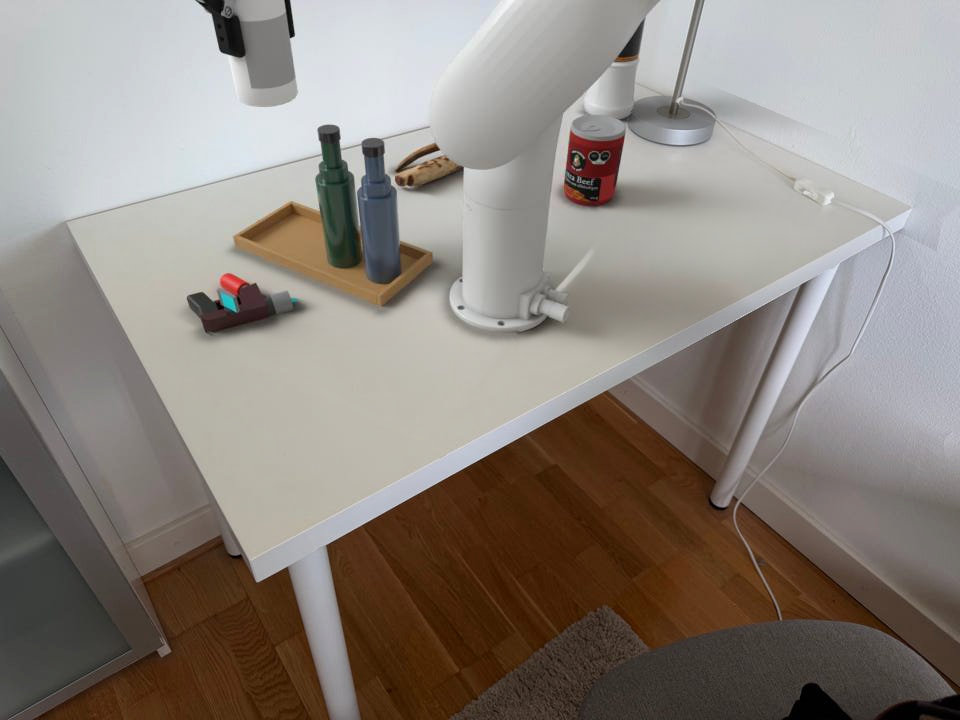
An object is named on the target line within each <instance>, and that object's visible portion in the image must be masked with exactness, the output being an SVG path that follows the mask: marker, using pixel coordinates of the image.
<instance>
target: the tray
mask: <svg viewBox="0 0 960 720" xmlns="http://www.w3.org/2000/svg"><path fill="white" fill-rule="evenodd" d="M359 228H360V237H361V246H362V256H363V258H362V261H361V262H360V263H359V264H358V265H356V266H354V267H350V268H336V267H333V266H331V265H330V264H329V263H328V261H327V256H326V249H325V242H324V236H323V229H322V222H321V215H320V210H318V209H314V208H312V207H309V206H306V205H304V204H301V203H298V202H296V201H292V200H290V201H288V202H287V203H285V204H284V205H282V206H280V207H278V208H277V209H275V210H274V211H272V212H270V213H269V214H267V215H265V216H264V217H262V218H260V219H259V220H257V221H256V222H254V223H252V224H251V225H248V226H247V227H246V228H244V229H243V230H240V231H239V232H238V233H236V234H234V235H233V236H232V239H233V243H234V246H235V248H238V249H240V250H243V251H246V252H248V253H250V254H253V255H255V256H258V257H261V258H262V259H264V260H267V261H270V262H272V263H274V264H277V265H280V266H282V267H284V268H287V269H289V270H292V271H294V272H296V273H299V274H301V275H304V276H306V277H308V278H311V279H313V280H316V281H318V282H320V283H323V284H325V285H328V286H330V287H332V288H335V289H338V290H339V291H343V292H345V293H347V294H350V295H352V296H355V297H357V298H359V299H362V300H364V301H366V302H369V303H371V304H373V305H376V306H379V307H383V306H384V305H385V304H386V303H388V302H389V301H390V300H391V299H392V298H394V297H395V296H396V295H397V294H398V293H399V292H400V291H402V290H403V289H404V288H405V287H406V286H408V285H409V284H410V283H411V282H412V281H413V280H414V279H415V278H417V277H418V276H419V275H420V274H421V273H422V272H424V271H425V270H426V269H427V268H429V266H430V265H432V264H433V263H434V258H433V252H432V251H429V250H428V249H425V248H421V247H420V246H419V247H418V246H416V245H413V244H410V243H408V242H405V241H402V240H400V251H401V267H402V274H401V275H400V276H398V277H397V278H396V279H395V280H394V281H392V282H391V283H388V284H377V283H373V282H371V281H369V280H368V279H367V277H366V274H365V264H364V255H363V245H362V236H361V226H360V225H359Z"/></svg>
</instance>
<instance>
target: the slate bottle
mask: <svg viewBox="0 0 960 720" xmlns="http://www.w3.org/2000/svg"><path fill="white" fill-rule="evenodd" d="M360 143H361V153H362V155H363V161H364V171H365V174H363V176H362V177H361V179H360V185H361V186H360V187H359V188H358V189H357V191H356V199H357V208H358V218H359V226H361V236H362V245H363V255H364V264H365V274H366V277H367V279H368V280H369V281H371V282H373V283H377V284H388V283H391V282H392V281H394V280H395V279H396V278H397V277H398V276H400V275H401V274H402V267H401V251H400V241H401V237H400V235H401V234H400V220H399V204H398V203H399V202H398V191H397V189H396V187H395V186H393V185H392V178H391V176H390V175H389V174H387V173H386V167H385V153H386V149H385V141H384V140H383V139H381V138H379V137H369V138H365V139H363V140H362V141H361V142H360Z"/></svg>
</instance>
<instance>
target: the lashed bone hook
mask: <svg viewBox="0 0 960 720" xmlns="http://www.w3.org/2000/svg"><path fill="white" fill-rule="evenodd" d="M439 151H441V150H440V149H439V147H438V146H437V144H436V142H435V141H434V142H432V143H430V144H428V145H425V146H422V147H420V148H419V149H416V150H415V151H413V152H412V153H410V154H409V155H408V156H406V157H405V158H404V159H403V160H401V162H400V163H399V164H398V165H397V166H396V168H395V169H394V172H395V173H397V174H395V175H394V182H395V184H396V185H397V186H398V187H401V188H403V187H406V186H408V187H419V186H421V185H424V184H428V183H429V182H432V181H434V180H437V179H440V178H443V177H444V176H447V175H449V174H452V173H454V172H456V171H458V170H460V169H461V168H463V167H462V166H460V165H458V164H456V163H454V162H453V161H451V160H450V159H449V158H448V157H446V156H445V155H444V154H443V155H440V156H437V157H435V158H432V159H429V160H427V161H424V162H422V163H420V164H418V165H416V166H414V167H412V168H407V167H408V166H409V165H411V164H412V163H414V162H415V161H417V160H419V159H421V158H423V157H426V156H428V155H431V154H433V153H436V152H439ZM405 168H407V169H405ZM404 169H405V170H404ZM402 170H403V171H402ZM398 172H399V173H398Z"/></svg>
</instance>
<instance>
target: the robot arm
mask: <svg viewBox="0 0 960 720" xmlns="http://www.w3.org/2000/svg"><path fill="white" fill-rule="evenodd" d="M194 1H195V2H196V3H198V5H200V6H201V7H203V9H204V12H206V13H208V14H210V15H211V18H212V23H213V27H214V33H215V36H216V42H217V45H218V49H219V52H220V53H221V54H222V55H223V54H224V55H227V56H228V55H231V56H234V57H238V58H242V57H244V56H245V54H246V52H245V47H244V41H243V36H242V31H241V26H240V20H239V18H238V16H235V15H233V9H234V1H235V0H194ZM284 2H285V9H286V15H287V22H288V29H289V36H290V39H292V38H294V37H296V31H295V24H294V18H293V11H292V4H291V0H284ZM660 2H661V0H500V1H499V3H497V5H496V6H495V8H493V10H492V11H491V12H490V14H489V15H488V16H487V17H486V18H485V20H484V21H483V22H482V23H481V24H480V26H479V27H478V28H477V30H476V31H475V32H474V34H472V36H471V37H470V38H469V39H468V40H467V42H466V43H465V45H464V46H463V47H462V48H461V49H460V51H459V52H458V53H457V54H456V56H455V57H454V58H453V59H452V60H451V62H450V63H449V64H448V66H447V67H446V68H445V69H444V70H443V71H442V73H441V74H440V76H439V77H438V78H437V80H436V82H435V84H434V86H433V88H432V91H431V94H430V97H429V102H428V113H427V115H428V124H429V129H430V133H431V135H432V138H433V140H434V143H435V142H436V144H437V146H438V147H439V149H440V151H441V153H442V154H443V155H445V156H446V157H448V158H449V159H450V160H451V161H453V162H454V163H456V164H458V165H460V166H462V168H463V186H462V187H463V189H462V191H463V192H462V196H463V197H462V202H463V203H462V275H461V276H460V277H458V278H457V279H456V280H455V281H454V282H453V284H452V285H451V287H450V290H449V295H448V296H449V297H448V298H449V305H450V307H451V310H452V311H453V313H454V314H455V315H456V316H457V317H458V319H460V320H462V321H463V322H464V323H466V324H468V325H470V326H472V327H475V328H477V329H480V330H483V331H489V332H495V333H512V332H513V333H514V332H517V333H522V332H525V331H528V330H530V329H533V328H535V327H537V326H538V325H540V324H542V323H543V322H544V321H545V320H546V319H547V317H548V318H551V319H553V320H556V321H558V322H560V323H565V322H566V321H567V320H568V318H569V315H570V311H571V307H570V306H568V305H567V303H568V301H569V298H570V295H569V294H567V293H565V292H562V291H559V290H558V291H557V290H555V289H553V288H552V287H553V286H550V280H551V273H549V272H546V271H544V260H545V251H546V243H547V242H546V241H547V232H548V224H549V223H548V222H549V213H550V204H551V194H552V187H553V180H554V179H553V178H554V170H555V161H556V155H557V150H558V149H557V148H558V141H559V137H560V133H561V132H560V131H561V128H562V127H561V126H562V122H563V116H564V113H565V112H566V111H568V110H569V109H570V108H571V107H572V106H573V105H574V104H575V103H576V102H577V101H578V100H579V99H580V98H581V97H582V96H583V95H584V94H586V93H587V90H588V89H589V88H590V87H591V86H592V85H593V84H594V83H595V82H596V81H597V80H598V79H599V78H600V77H601V76H602V75H603V73H604V72H605V71H606V70H607V69H608V68H609V67H610V65H611V64H612V63H613V62H614V61H615V59H616V58H617V57H618V55H619V54H620V53H621V51H622V50H623V48H624V47H625V46H626V44H627V43H628V41H629V40H630V39H631V37H632V36H633V34H634V33H635V31H636V29H637V28H638V26H639V25H640V23H641V22H642V20H643V19H644V18H645V17H646V18H647V16H648V15H649V13H650V12H651V11H652V10H653V9H654V8H655V7H656V6H657V5H658V4H659V3H660Z"/></svg>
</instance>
